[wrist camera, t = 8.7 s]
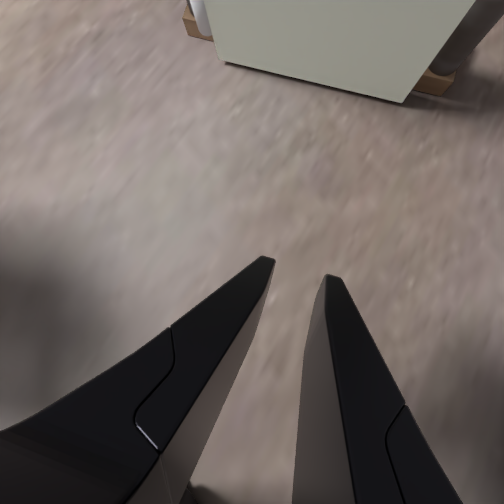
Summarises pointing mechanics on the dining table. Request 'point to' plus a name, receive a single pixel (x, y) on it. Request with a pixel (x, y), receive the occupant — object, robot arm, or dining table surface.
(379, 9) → the door
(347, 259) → the dining table surface
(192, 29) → the door frame
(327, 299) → the robot arm
